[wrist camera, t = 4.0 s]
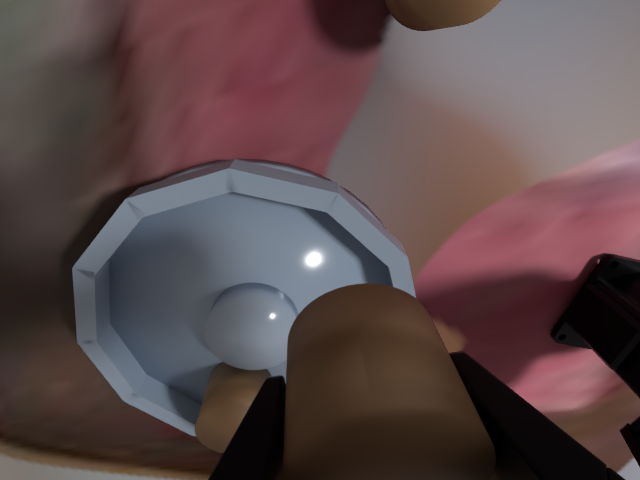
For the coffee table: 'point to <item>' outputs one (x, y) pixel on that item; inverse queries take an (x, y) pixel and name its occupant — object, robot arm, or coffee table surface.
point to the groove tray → (219, 276)
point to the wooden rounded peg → (226, 404)
